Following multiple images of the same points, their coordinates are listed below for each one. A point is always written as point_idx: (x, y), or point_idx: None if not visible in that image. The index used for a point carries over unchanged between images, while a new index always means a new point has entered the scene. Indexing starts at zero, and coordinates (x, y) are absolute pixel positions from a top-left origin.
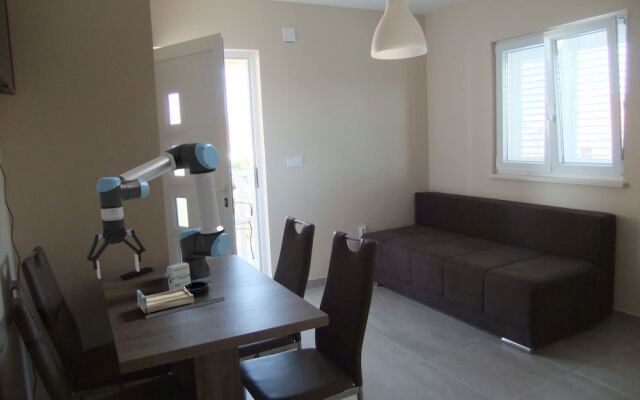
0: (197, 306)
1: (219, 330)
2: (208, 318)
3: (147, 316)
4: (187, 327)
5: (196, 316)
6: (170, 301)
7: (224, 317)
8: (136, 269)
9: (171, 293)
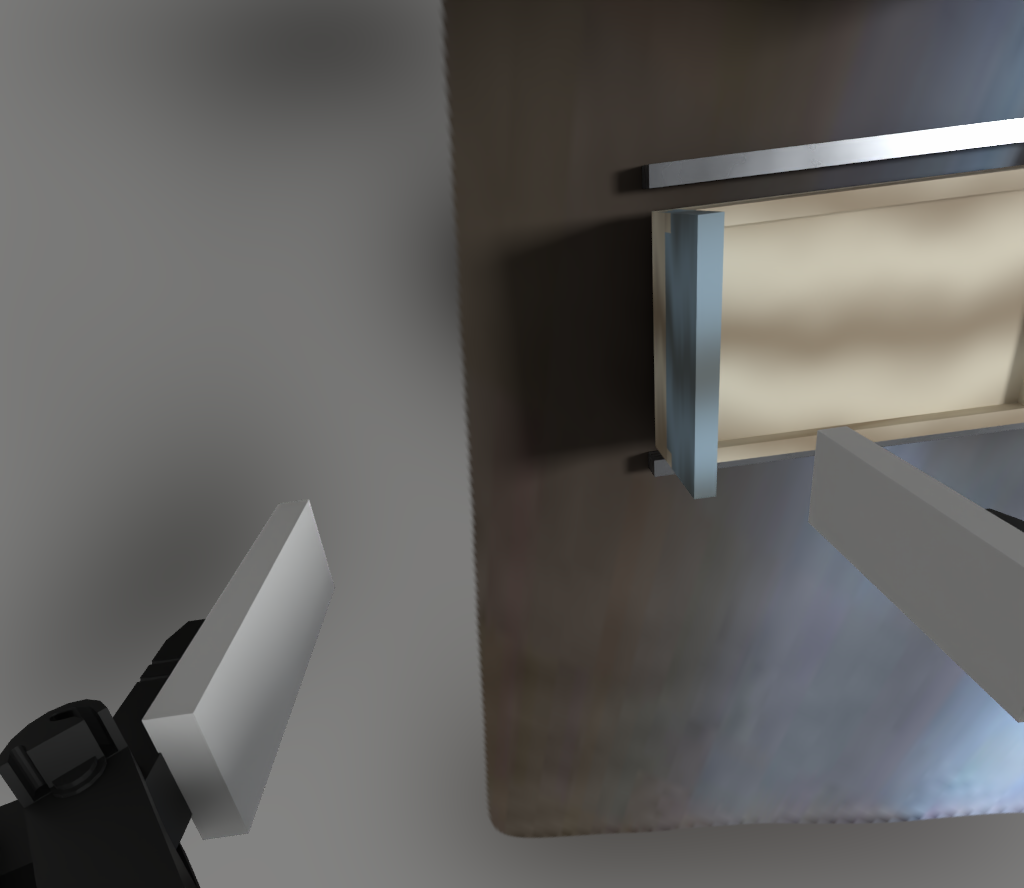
0: None
1: (885, 758)
2: None
3: (660, 472)
4: (792, 676)
5: None
6: None
7: None
8: (824, 480)
9: (956, 205)
